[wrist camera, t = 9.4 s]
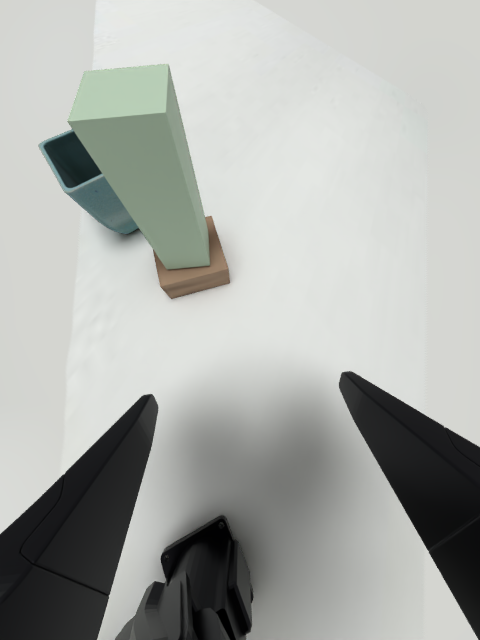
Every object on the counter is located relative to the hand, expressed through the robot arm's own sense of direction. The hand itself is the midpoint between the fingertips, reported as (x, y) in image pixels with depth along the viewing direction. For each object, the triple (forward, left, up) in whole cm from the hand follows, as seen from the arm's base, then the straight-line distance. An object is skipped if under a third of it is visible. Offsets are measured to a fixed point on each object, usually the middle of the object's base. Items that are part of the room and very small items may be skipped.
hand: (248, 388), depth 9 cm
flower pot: (-4, +29, -14) cm, 32 cm away
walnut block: (+1, +17, -14) cm, 22 cm away
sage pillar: (+1, +16, -10) cm, 19 cm away
